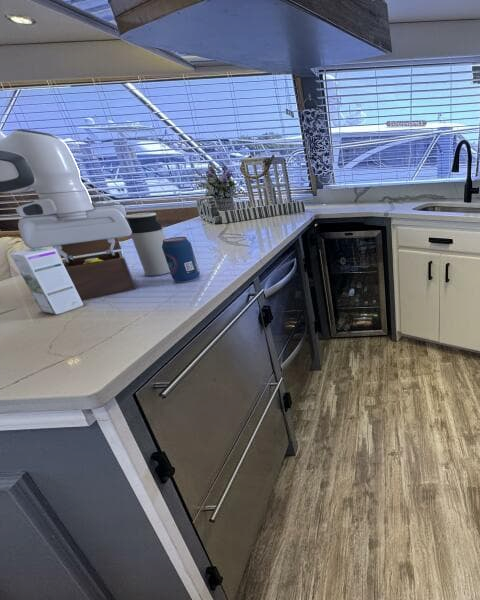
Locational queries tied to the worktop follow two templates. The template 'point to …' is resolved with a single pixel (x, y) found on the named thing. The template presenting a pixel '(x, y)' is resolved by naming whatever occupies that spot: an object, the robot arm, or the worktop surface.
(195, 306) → the worktop surface
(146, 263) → the travel mug
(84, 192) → the robot arm
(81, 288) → the chest
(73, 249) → the chest lid
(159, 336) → the worktop surface
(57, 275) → the syrup box
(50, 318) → the worktop surface
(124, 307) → the worktop surface
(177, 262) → the soda can
